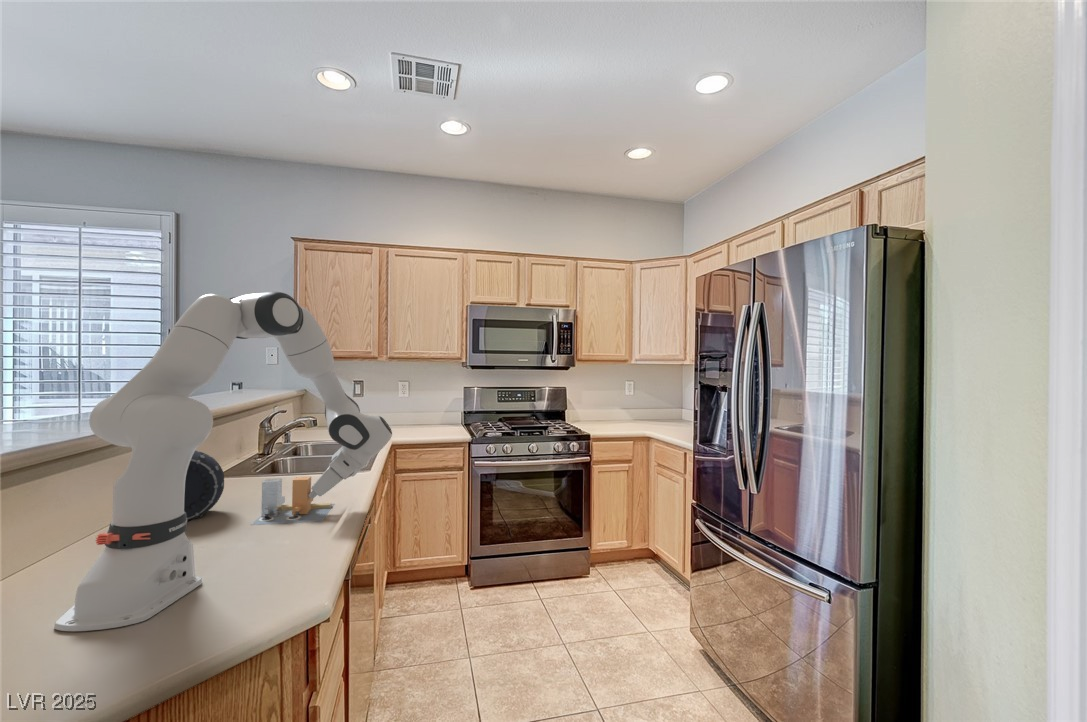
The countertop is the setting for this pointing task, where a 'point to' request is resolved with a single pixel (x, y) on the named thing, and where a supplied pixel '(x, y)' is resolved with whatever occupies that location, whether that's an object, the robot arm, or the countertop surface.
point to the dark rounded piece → (202, 485)
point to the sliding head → (301, 495)
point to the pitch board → (286, 515)
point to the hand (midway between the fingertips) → (311, 496)
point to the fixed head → (272, 497)
